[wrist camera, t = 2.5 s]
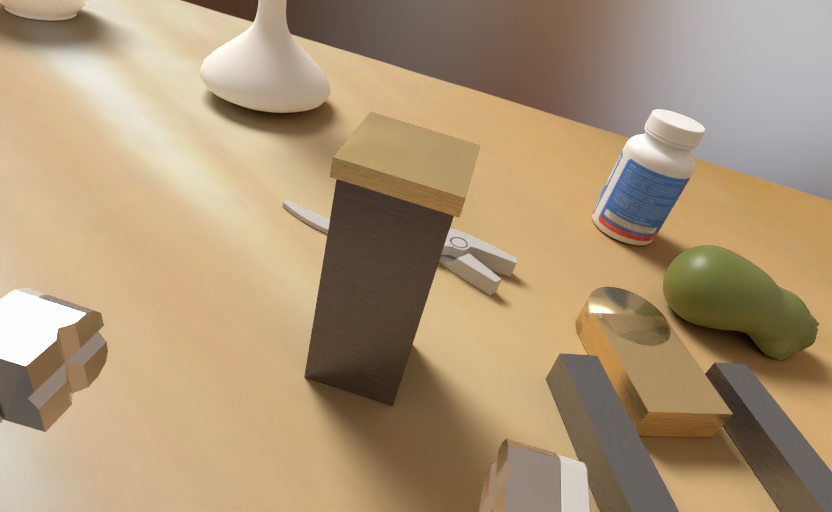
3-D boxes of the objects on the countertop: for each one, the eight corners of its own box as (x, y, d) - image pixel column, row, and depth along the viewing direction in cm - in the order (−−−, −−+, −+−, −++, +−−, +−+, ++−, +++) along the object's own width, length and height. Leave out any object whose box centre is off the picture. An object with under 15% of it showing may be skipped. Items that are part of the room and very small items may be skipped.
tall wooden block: (395, 410, 25) (465, 198, 19) (298, 378, 26) (333, 157, 19) (416, 341, 29) (480, 145, 22) (332, 314, 29) (370, 111, 23)
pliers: (369, 153, 43) (537, 241, 38) (366, 171, 44) (529, 258, 39) (281, 192, 36) (474, 306, 31) (279, 212, 37) (467, 326, 32)
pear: (693, 218, 37) (822, 286, 37) (644, 272, 40) (763, 335, 40) (707, 261, 32) (854, 338, 32) (651, 319, 35) (785, 389, 35)
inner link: (564, 307, 35) (576, 283, 34) (631, 312, 36) (645, 290, 35) (629, 435, 27) (648, 411, 26) (711, 437, 29) (733, 414, 27)
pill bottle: (663, 251, 44) (731, 143, 38) (604, 243, 43) (665, 130, 37) (635, 214, 48) (692, 112, 43) (581, 206, 47) (632, 99, 41)
